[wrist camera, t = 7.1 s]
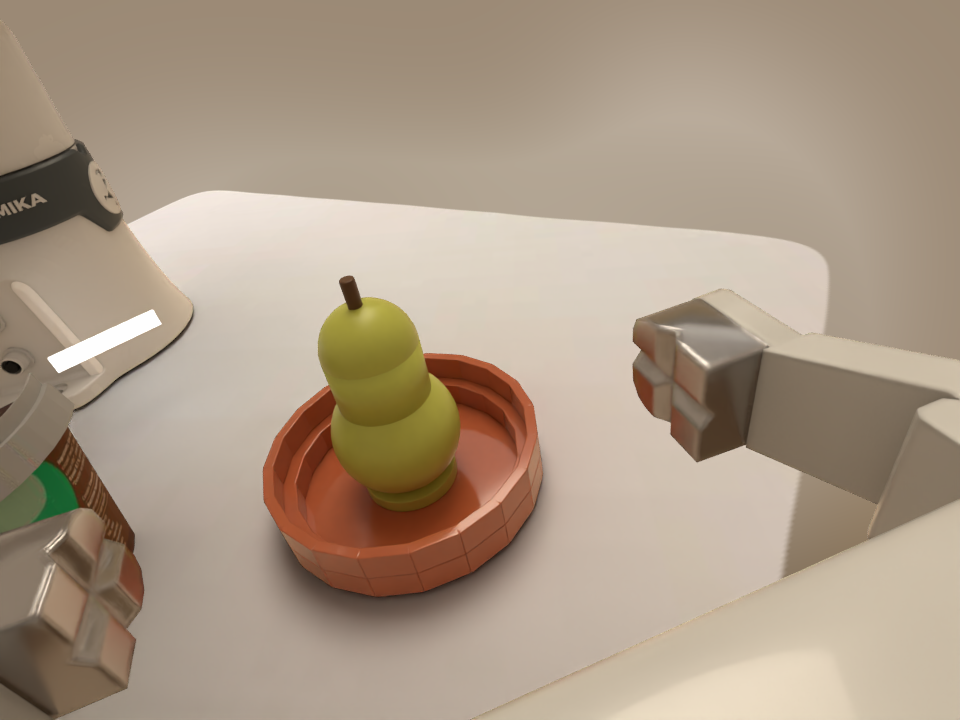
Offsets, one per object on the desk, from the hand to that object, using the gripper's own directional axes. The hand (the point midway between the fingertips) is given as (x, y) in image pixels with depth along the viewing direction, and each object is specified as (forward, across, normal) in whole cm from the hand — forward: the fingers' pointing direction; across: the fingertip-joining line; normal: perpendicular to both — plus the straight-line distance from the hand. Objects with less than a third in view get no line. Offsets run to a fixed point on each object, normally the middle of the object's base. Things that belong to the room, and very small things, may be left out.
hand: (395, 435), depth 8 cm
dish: (+14, 0, +15) cm, 21 cm away
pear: (+14, 0, +15) cm, 21 cm away
